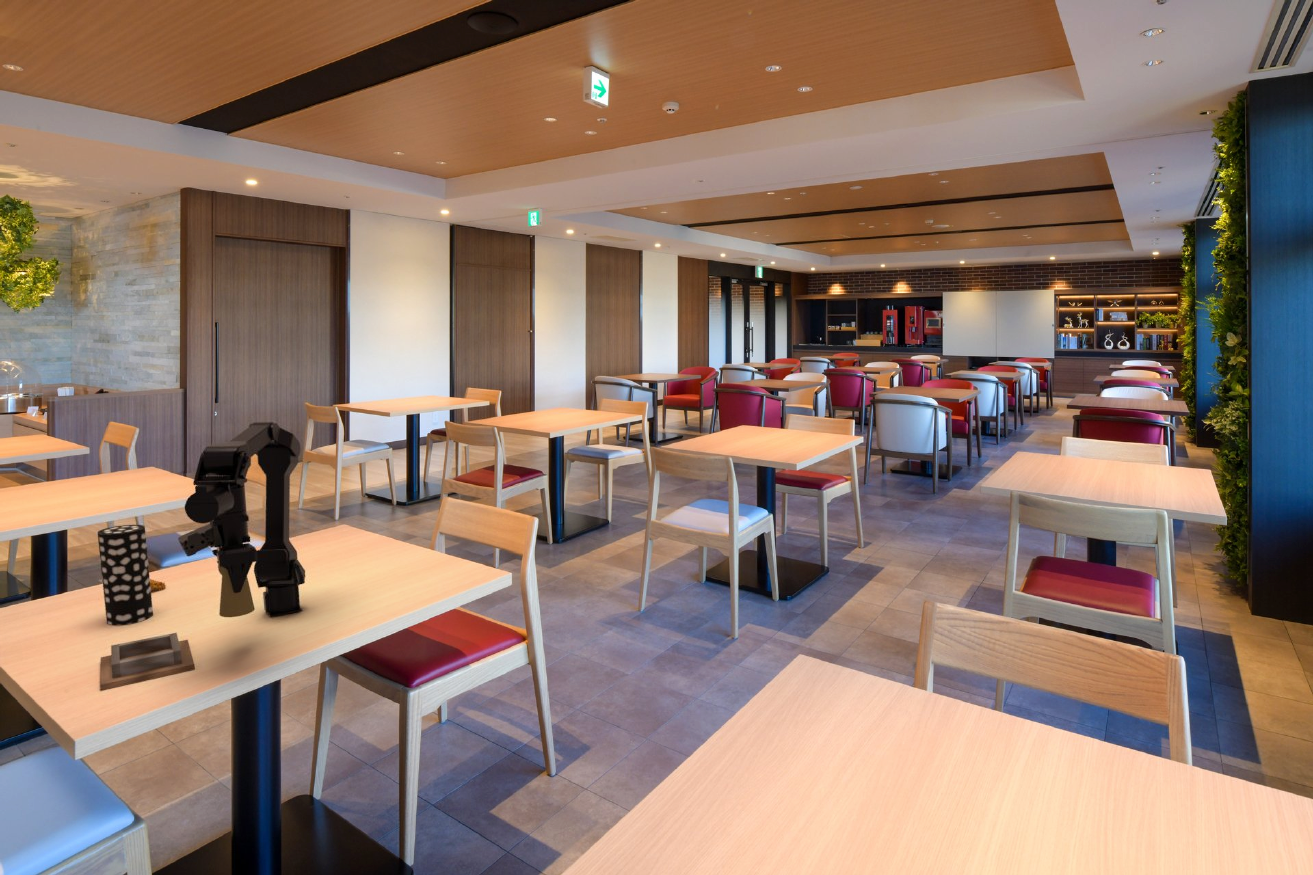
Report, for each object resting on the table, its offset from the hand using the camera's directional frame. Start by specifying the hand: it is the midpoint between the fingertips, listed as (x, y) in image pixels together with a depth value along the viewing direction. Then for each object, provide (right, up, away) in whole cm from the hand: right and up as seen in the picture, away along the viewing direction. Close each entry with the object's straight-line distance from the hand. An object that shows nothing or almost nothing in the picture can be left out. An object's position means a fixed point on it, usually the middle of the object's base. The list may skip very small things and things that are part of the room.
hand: (235, 589), depth 143 cm
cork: (0, -5, +1) cm, 5 cm away
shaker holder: (-14, -13, -5) cm, 20 cm away
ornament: (-43, -9, +35) cm, 56 cm away
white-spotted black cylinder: (-34, -10, +19) cm, 40 cm away
